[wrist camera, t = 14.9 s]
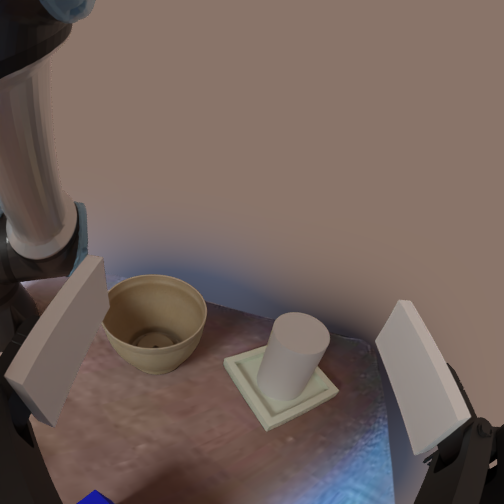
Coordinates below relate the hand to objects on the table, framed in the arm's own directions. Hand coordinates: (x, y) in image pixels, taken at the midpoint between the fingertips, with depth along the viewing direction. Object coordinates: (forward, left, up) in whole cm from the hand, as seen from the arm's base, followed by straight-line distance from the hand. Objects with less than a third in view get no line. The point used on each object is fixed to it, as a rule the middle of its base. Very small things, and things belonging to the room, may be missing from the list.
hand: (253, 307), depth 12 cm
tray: (-11, +18, -32) cm, 39 cm away
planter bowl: (-24, +1, -32) cm, 40 cm away
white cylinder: (-11, +18, -32) cm, 38 cm away
